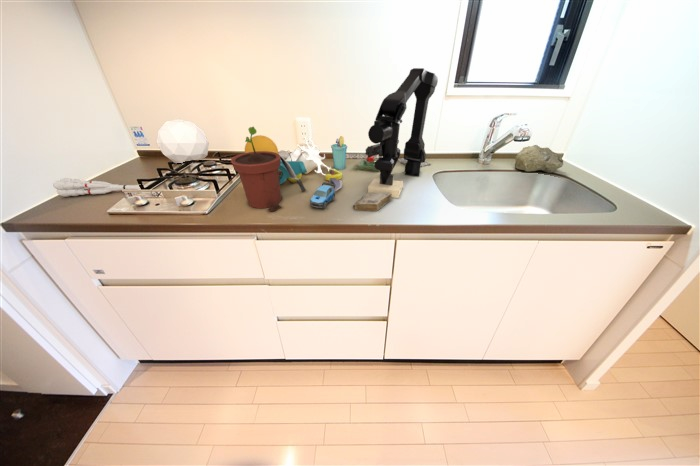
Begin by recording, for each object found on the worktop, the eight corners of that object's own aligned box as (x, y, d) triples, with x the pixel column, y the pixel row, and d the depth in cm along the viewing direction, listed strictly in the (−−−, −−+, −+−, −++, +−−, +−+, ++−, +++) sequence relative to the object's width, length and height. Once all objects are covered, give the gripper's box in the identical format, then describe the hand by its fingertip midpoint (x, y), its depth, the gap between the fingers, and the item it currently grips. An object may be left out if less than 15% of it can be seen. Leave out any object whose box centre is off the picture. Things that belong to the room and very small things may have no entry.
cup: (345, 173, 115) (345, 140, 107) (329, 173, 116) (327, 139, 108) (348, 164, 127) (348, 133, 119) (333, 163, 128) (332, 132, 119)
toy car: (307, 207, 86) (307, 192, 83) (322, 195, 96) (322, 181, 93) (323, 211, 84) (323, 196, 81) (336, 198, 94) (336, 184, 91)
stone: (371, 215, 83) (371, 207, 81) (351, 208, 87) (351, 200, 85) (392, 199, 93) (393, 192, 91) (373, 194, 97) (374, 187, 95)
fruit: (304, 183, 105) (302, 154, 99) (289, 186, 102) (285, 157, 96) (299, 177, 110) (295, 150, 103) (284, 180, 107) (279, 153, 101)
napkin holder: (412, 159, 133) (414, 145, 129) (421, 163, 128) (423, 148, 124) (407, 160, 132) (409, 146, 128) (415, 164, 127) (418, 149, 123)
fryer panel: (402, 188, 102) (403, 181, 100) (398, 198, 94) (399, 190, 92) (373, 184, 105) (374, 177, 103) (367, 194, 97) (368, 186, 95)
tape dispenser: (271, 183, 101) (262, 164, 97) (306, 170, 102) (298, 151, 98) (271, 187, 95) (262, 168, 91) (308, 174, 96) (300, 154, 92)
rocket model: (51, 173, 90) (144, 175, 95) (69, 182, 97) (155, 183, 102) (46, 192, 88) (142, 192, 93) (65, 200, 95) (153, 200, 100)
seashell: (290, 176, 110) (275, 180, 115) (307, 161, 120) (293, 166, 126) (277, 154, 105) (262, 160, 111) (296, 141, 115) (282, 147, 121)
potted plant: (252, 190, 99) (236, 122, 85) (306, 190, 99) (299, 123, 85) (235, 211, 84) (212, 134, 70) (298, 211, 84) (288, 135, 71)
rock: (577, 152, 107) (566, 157, 120) (533, 132, 113) (527, 140, 127) (551, 183, 113) (543, 185, 126) (510, 163, 119) (507, 167, 132)
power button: (374, 159, 122) (374, 156, 121) (372, 161, 119) (373, 158, 118) (367, 159, 122) (367, 155, 121) (365, 161, 120) (365, 157, 119)
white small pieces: (310, 130, 121) (314, 135, 122) (303, 136, 124) (307, 141, 126) (289, 159, 102) (294, 164, 103) (280, 165, 105) (285, 170, 107)
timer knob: (392, 184, 98) (393, 173, 95) (392, 185, 97) (393, 175, 94) (380, 182, 99) (381, 172, 97) (379, 183, 98) (380, 173, 95)
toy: (251, 173, 112) (282, 159, 113) (234, 141, 108) (265, 127, 109) (258, 173, 126) (285, 161, 127) (243, 145, 122) (270, 133, 123)
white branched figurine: (303, 130, 112) (291, 140, 116) (295, 150, 99) (281, 161, 103) (332, 162, 123) (320, 170, 127) (328, 184, 109) (315, 193, 113)
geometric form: (147, 153, 122) (141, 125, 102) (182, 130, 133) (182, 101, 113) (184, 182, 129) (186, 162, 109) (214, 158, 140) (221, 136, 119)
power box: (382, 166, 125) (383, 158, 122) (378, 171, 118) (379, 163, 115) (361, 163, 128) (362, 155, 125) (356, 169, 120) (356, 161, 118)
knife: (346, 194, 97) (340, 172, 117) (346, 188, 95) (340, 166, 116) (326, 195, 96) (324, 172, 116) (326, 189, 94) (323, 167, 115)
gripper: (374, 130, 97) (372, 169, 106) (361, 142, 83) (359, 185, 91) (402, 133, 95) (398, 172, 103) (394, 145, 80) (389, 189, 89)
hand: (386, 179), depth 97 cm, fingers open, 9 cm apart
